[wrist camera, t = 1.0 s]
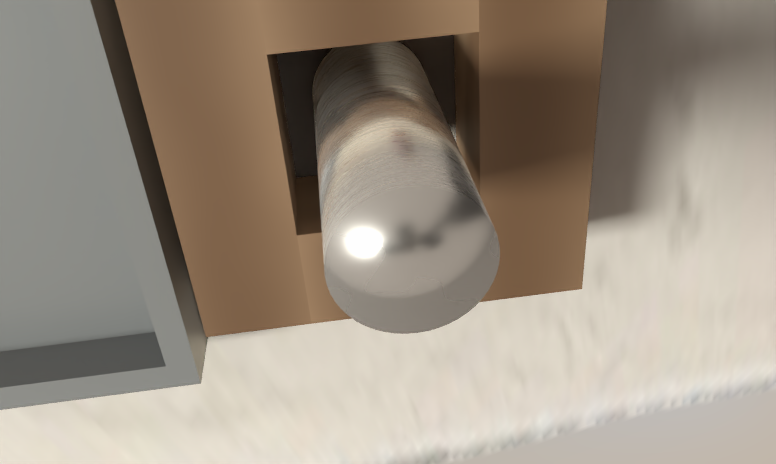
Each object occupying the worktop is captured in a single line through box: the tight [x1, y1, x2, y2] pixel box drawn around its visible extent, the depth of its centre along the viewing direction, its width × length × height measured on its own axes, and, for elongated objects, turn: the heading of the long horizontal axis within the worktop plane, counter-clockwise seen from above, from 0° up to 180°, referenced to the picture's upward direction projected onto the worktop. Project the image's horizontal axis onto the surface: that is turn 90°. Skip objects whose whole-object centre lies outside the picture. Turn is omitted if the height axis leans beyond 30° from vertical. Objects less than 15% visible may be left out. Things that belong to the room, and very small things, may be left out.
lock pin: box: [312, 41, 500, 334], centre depth 16 cm, size 3×3×8 cm
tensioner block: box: [115, 0, 607, 337], centre depth 18 cm, size 10×10×3 cm
